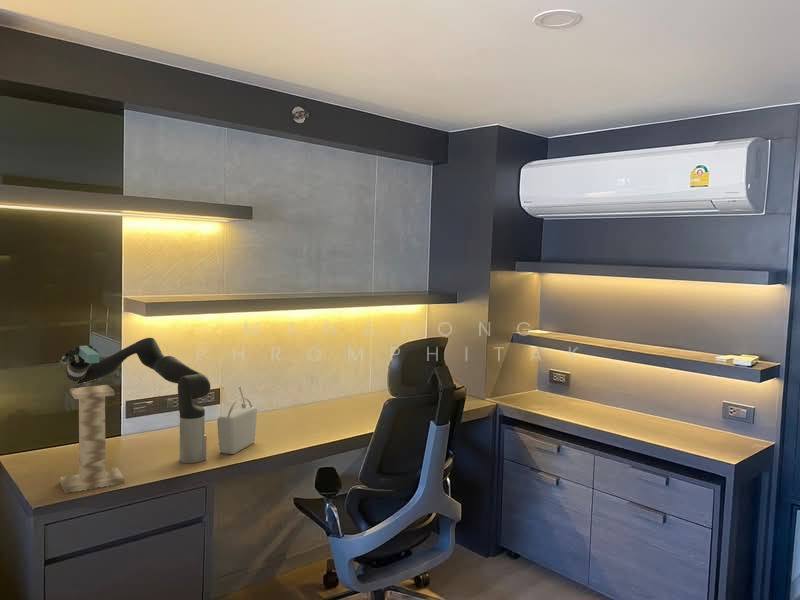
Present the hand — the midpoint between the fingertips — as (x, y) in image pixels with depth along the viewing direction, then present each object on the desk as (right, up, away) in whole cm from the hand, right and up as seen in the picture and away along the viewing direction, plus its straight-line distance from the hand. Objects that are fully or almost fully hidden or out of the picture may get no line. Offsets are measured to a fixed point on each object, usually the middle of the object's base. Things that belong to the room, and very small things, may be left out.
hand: (84, 347), depth 228 cm
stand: (+14, -45, -21) cm, 52 cm away
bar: (+4, -3, -6) cm, 8 cm away
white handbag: (+52, -44, +22) cm, 71 cm away
